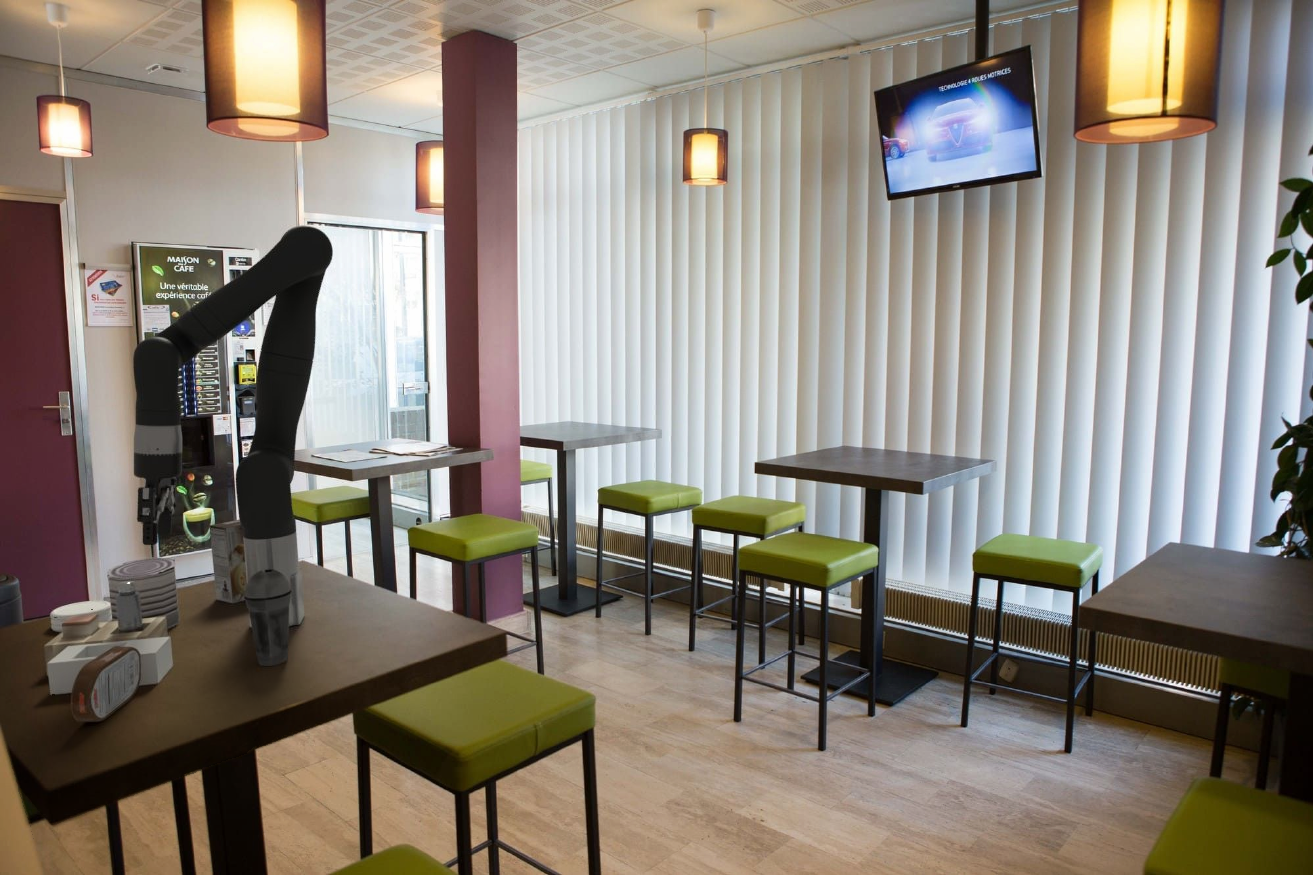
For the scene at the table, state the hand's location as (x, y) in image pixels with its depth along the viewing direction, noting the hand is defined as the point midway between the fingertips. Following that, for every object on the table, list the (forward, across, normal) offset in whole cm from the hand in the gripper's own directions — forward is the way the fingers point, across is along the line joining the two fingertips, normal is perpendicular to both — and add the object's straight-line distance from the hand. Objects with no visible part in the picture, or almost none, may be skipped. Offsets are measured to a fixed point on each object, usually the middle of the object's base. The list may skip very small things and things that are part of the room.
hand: (157, 539), depth 158 cm
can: (+19, +10, +4) cm, 22 cm away
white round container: (+20, +15, +17) cm, 31 cm away
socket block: (+19, -8, +5) cm, 21 cm away
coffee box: (+18, +26, -10) cm, 33 cm away
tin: (+18, -33, -3) cm, 38 cm away
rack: (+19, -20, +1) cm, 27 cm away
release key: (+16, -8, +9) cm, 20 cm away
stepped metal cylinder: (+19, -8, +1) cm, 20 cm away
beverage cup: (+17, -18, -23) cm, 34 cm away
